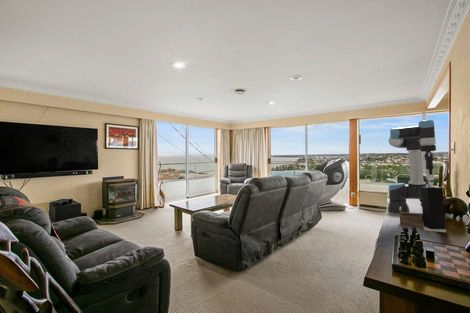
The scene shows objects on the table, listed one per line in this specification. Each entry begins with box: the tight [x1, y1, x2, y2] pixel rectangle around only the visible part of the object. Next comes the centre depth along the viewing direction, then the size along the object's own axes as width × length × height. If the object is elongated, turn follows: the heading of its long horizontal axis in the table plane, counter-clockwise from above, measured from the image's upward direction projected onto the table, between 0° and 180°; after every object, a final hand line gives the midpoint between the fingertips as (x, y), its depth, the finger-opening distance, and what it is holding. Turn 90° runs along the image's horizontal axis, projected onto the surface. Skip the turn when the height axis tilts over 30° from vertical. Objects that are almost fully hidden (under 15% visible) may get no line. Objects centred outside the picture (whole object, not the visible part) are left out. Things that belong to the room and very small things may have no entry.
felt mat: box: [423, 225, 447, 233], centre depth 146 cm, size 10×10×1 cm
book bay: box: [398, 207, 424, 228], centre depth 161 cm, size 13×12×10 cm
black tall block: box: [420, 181, 446, 230], centre depth 146 cm, size 8×8×28 cm
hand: (430, 179), depth 147 cm, fingers open, 13 cm apart
